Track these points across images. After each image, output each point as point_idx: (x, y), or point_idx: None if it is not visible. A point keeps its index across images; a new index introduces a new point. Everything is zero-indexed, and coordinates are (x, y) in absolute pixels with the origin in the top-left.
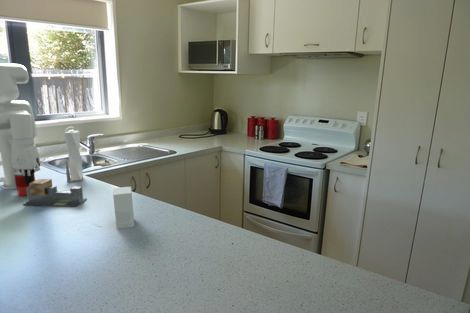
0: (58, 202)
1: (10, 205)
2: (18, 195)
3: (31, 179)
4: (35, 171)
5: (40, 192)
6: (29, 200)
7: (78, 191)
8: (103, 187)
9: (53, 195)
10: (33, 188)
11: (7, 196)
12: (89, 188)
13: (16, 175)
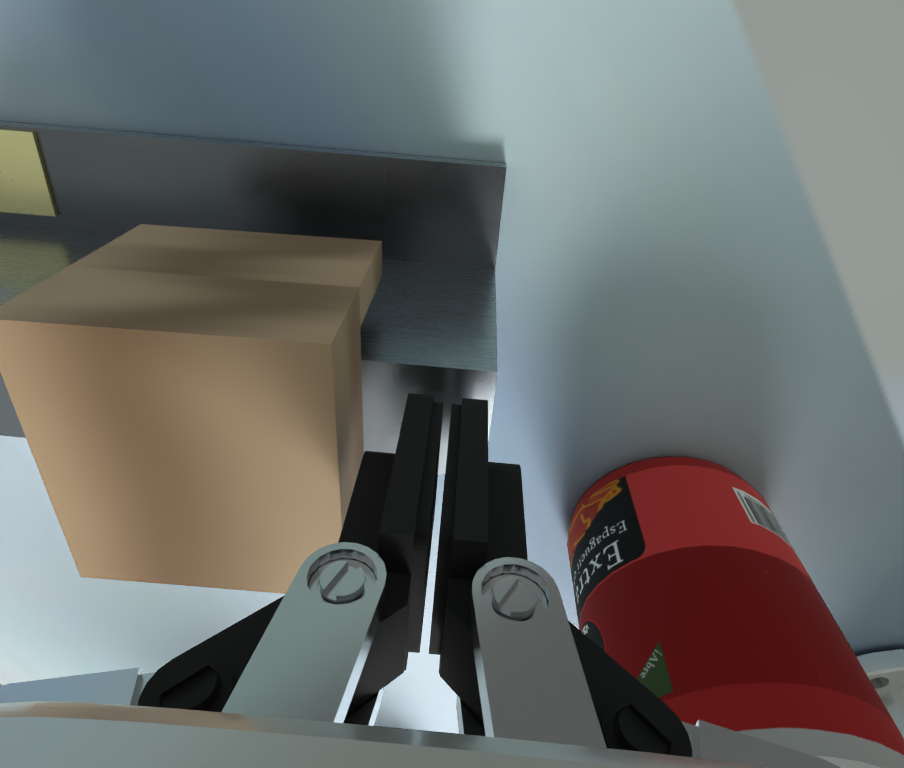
0: (47, 229)
1: (703, 166)
2: (741, 478)
3: (354, 497)
4: (106, 675)
5: (168, 246)
6: (471, 273)
7: None
8: (13, 648)
9: (43, 271)
10: (274, 286)
11: (879, 478)
12: (121, 634)
13: (858, 733)
